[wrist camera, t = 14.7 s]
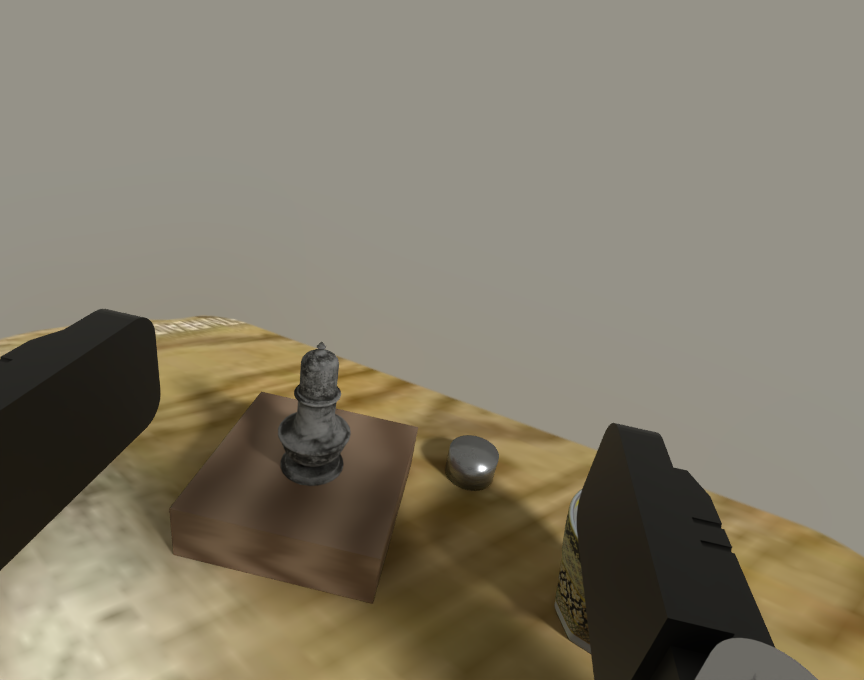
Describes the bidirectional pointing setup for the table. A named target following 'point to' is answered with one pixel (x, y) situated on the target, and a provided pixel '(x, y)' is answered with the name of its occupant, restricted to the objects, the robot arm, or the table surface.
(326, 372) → the salt shaker
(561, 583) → the ceramic cup
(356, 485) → the walnut stand
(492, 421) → the table surface
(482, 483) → the grey metal puck
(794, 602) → the table surface
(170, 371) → the table surface
